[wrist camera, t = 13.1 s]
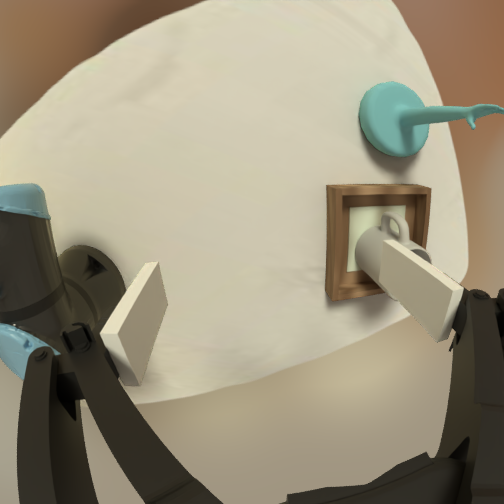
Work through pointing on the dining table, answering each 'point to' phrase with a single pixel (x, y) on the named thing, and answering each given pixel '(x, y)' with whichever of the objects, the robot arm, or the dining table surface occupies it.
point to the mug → (372, 243)
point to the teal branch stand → (407, 118)
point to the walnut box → (358, 221)
